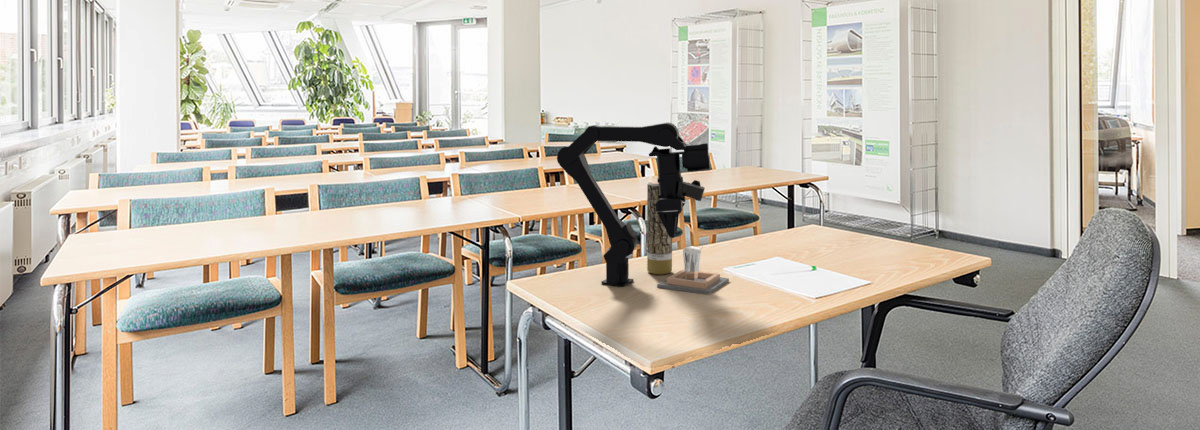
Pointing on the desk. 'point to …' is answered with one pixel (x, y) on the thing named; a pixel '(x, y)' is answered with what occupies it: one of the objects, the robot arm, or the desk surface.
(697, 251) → the milkshake
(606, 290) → the desk surface
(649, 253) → the brown tall cylinder
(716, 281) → the dock
